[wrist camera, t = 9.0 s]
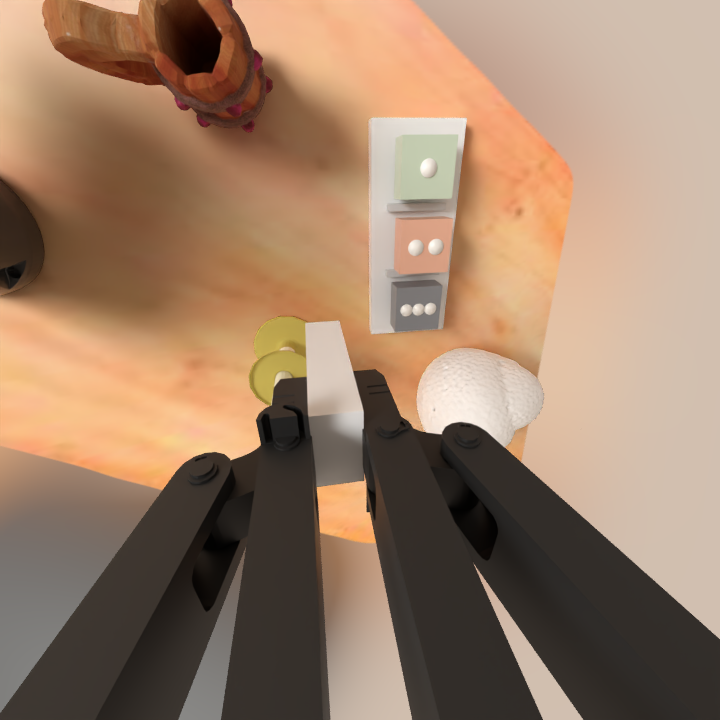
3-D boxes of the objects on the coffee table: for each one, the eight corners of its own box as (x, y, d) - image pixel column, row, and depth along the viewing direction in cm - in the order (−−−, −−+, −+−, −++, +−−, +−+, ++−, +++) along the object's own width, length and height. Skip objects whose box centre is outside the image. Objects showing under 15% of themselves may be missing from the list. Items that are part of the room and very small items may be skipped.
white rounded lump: (377, 367, 54) (401, 431, 40) (466, 295, 50) (527, 339, 36) (442, 431, 62) (480, 503, 49) (521, 375, 59) (588, 435, 45)
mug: (273, 42, 34) (250, -47, 20) (277, 138, 37) (260, 114, 24) (115, 22, 31) (-23, -94, 18) (137, 125, 35) (35, 91, 22)
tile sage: (393, 198, 39) (400, 199, 36) (395, 138, 36) (402, 134, 33) (442, 197, 40) (452, 198, 37) (447, 137, 37) (459, 134, 34)
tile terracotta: (393, 268, 42) (399, 274, 39) (395, 217, 39) (402, 220, 36) (439, 266, 43) (448, 272, 40) (443, 216, 40) (454, 218, 37)
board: (369, 328, 50) (372, 337, 47) (368, 120, 38) (373, 115, 35) (438, 324, 51) (445, 332, 49) (459, 120, 39) (471, 116, 36)
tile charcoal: (390, 323, 47) (395, 332, 44) (391, 281, 44) (397, 288, 41) (430, 320, 47) (438, 329, 45) (434, 279, 44) (443, 285, 42)
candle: (241, 354, 49) (180, 511, 26) (276, 302, 46) (243, 425, 23) (298, 385, 53) (290, 545, 30) (333, 338, 50) (356, 475, 27)
